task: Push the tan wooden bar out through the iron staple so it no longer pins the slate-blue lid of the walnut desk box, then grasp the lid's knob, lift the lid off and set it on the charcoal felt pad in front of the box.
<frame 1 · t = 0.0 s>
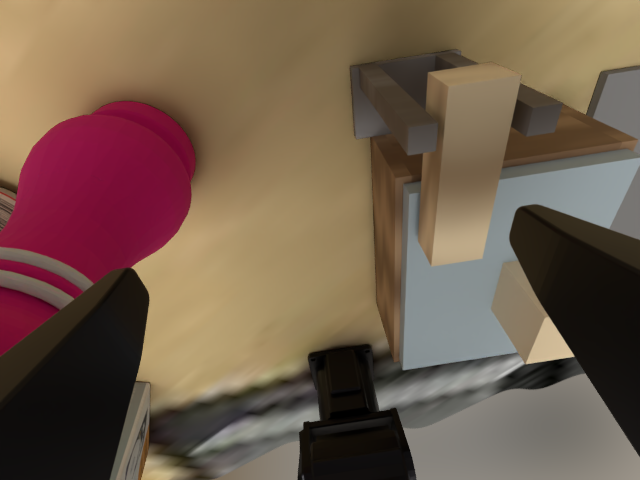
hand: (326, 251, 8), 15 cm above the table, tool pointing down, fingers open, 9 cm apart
toolbox: (451, 221, 27), on the table
hard drive box: (115, 414, 39), on the table
tan wooden bar: (458, 176, 15), point 8 cm above the table, slide at 0.0 cm
soda can: (1, 219, 23), on the table
lid: (488, 275, 22), point 6 cm above the table, touching toolbox
pepper mill: (143, 151, 21), on the table
felt pad: (638, 181, 26), on the table
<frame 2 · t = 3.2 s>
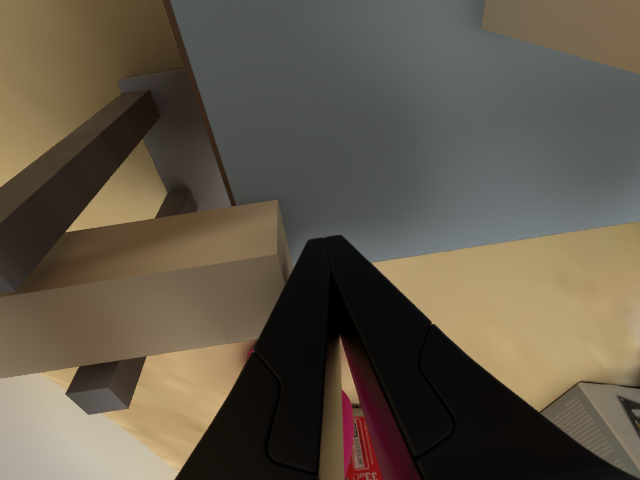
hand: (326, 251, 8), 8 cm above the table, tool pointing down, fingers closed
hard drive box: (611, 404, 34), on the table
tan wooden bar: (117, 292, 8), point 8 cm above the table, slide at 1.5 cm, touching gripper
soda can: (346, 421, 31), on the table
lid: (552, 8, 7), point 6 cm above the table, touching toolbox
pepper mill: (292, 355, 25), on the table
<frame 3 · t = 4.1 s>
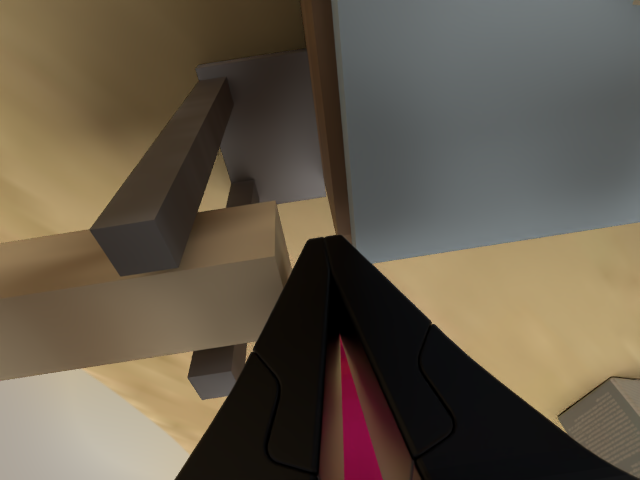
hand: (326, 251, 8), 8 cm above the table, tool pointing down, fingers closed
hard drive box: (638, 400, 34), on the table
tan wooden bar: (113, 294, 8), point 8 cm above the table, slide at 4.4 cm, touching gripper
pepper mill: (331, 350, 25), on the table
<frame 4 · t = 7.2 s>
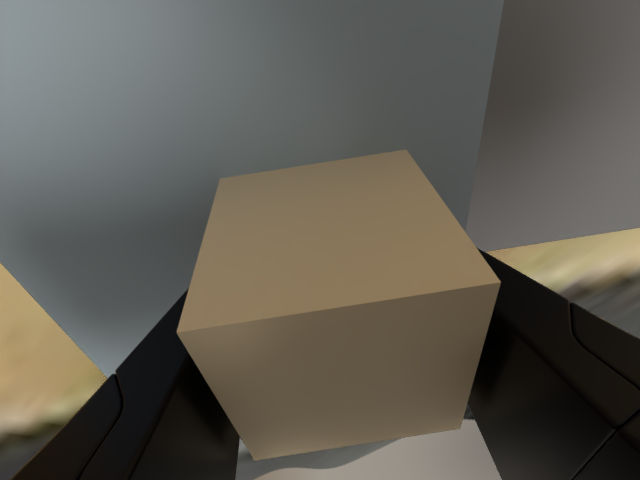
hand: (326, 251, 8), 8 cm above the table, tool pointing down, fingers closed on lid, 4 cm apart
lid: (247, 226, 9), point 6 cm above the table, touching gripper, toolbox
felt pad: (609, 60, 14), on the table
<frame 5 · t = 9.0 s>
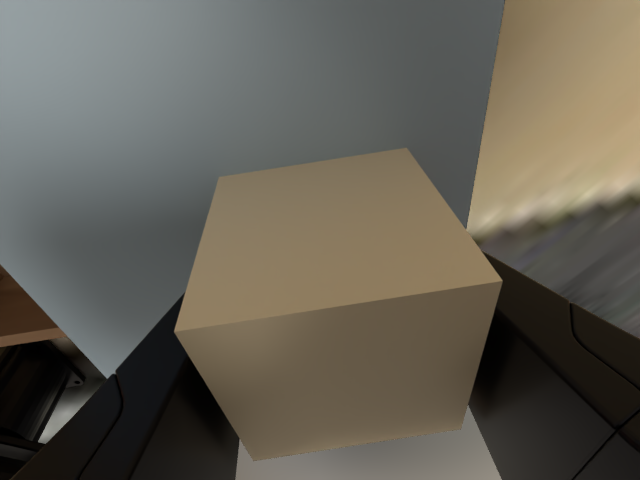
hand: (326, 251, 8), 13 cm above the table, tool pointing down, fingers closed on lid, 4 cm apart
toolbox: (16, 160, 19), on the table
lid: (246, 225, 9), point 12 cm above the table, touching gripper
when the fingers open (4 cm above the table, at t = 10.9 s): lid drops 2 cm, resting on felt pad.
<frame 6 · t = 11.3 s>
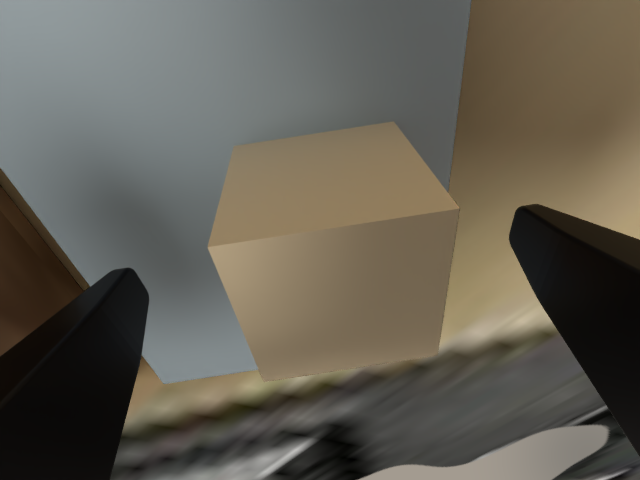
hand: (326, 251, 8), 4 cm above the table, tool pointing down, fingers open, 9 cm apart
lid: (255, 194, 11), point 1 cm above the table, touching felt pad
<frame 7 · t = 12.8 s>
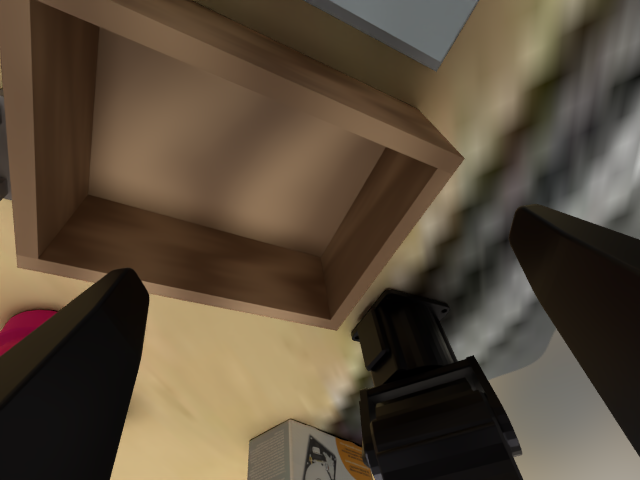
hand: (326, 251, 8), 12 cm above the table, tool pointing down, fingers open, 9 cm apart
toolbox: (242, 153, 20), on the table
hard drive box: (310, 442, 46), on the table
pepper mill: (56, 332, 28), on the table
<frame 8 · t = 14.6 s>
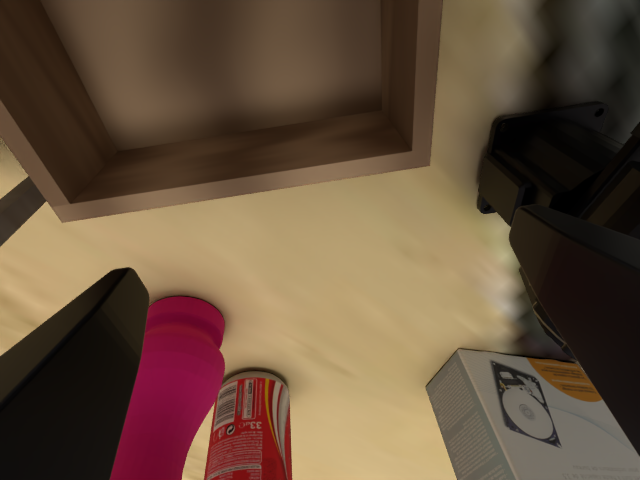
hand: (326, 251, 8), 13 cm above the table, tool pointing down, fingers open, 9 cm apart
toolbox: (222, 16, 16), on the table
hard drive box: (499, 372, 38), on the table
soda can: (254, 384, 35), on the table
pepper mill: (186, 319, 29), on the table
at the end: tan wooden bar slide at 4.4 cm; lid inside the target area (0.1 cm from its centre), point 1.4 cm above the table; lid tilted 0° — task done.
